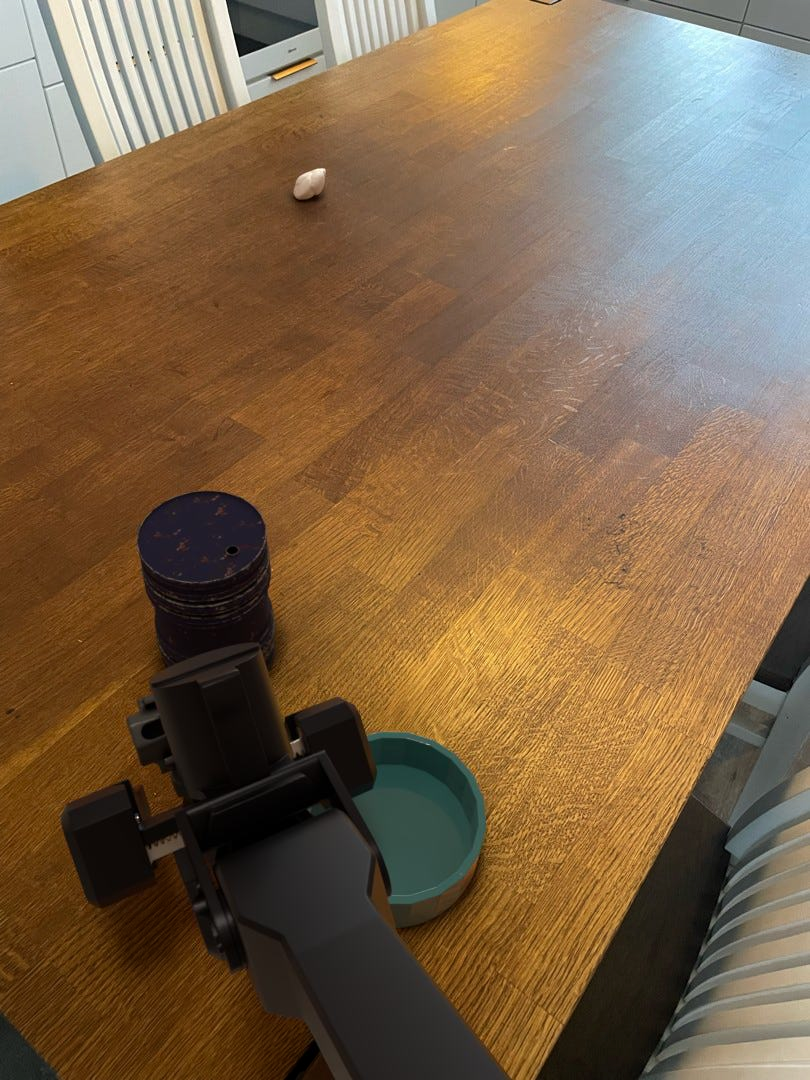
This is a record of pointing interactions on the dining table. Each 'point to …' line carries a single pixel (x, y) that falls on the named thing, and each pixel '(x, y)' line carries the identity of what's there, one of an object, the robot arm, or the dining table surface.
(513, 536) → the dining table surface
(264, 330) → the dining table surface
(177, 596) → the dark blue cylinder
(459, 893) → the pan
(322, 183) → the dumpling
